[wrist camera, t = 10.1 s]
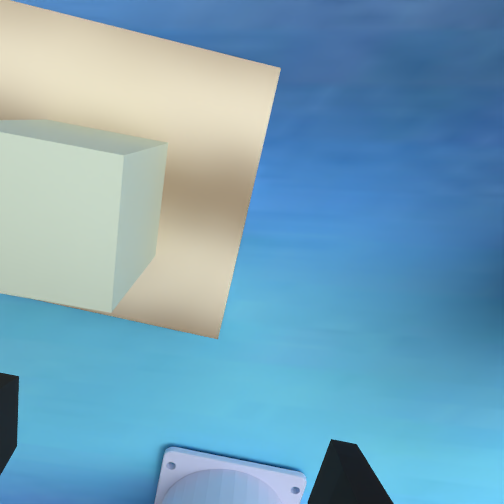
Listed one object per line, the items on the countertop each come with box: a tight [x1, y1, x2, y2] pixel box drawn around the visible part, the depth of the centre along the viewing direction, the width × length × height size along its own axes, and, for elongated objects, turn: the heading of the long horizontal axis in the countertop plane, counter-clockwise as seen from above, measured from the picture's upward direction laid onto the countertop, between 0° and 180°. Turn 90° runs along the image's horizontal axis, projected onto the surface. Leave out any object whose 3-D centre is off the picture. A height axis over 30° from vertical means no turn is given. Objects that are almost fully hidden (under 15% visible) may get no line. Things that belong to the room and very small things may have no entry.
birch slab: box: [0, 0, 281, 339], centre depth 17 cm, size 11×11×3 cm
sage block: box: [0, 119, 168, 313], centre depth 13 cm, size 4×4×5 cm
